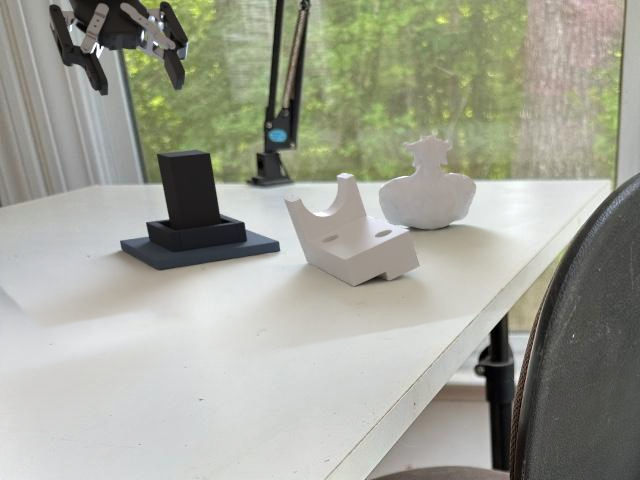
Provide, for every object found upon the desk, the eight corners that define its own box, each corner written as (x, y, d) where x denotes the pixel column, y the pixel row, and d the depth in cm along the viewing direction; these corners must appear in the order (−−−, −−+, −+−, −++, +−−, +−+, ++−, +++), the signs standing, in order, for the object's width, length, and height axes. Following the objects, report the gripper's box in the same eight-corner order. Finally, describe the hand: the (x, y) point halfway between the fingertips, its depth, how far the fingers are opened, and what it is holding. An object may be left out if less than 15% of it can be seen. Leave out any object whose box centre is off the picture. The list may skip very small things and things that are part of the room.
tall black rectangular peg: (173, 240, 103) (156, 153, 98) (210, 235, 105) (196, 149, 100) (186, 246, 100) (169, 157, 95) (224, 240, 102) (210, 152, 97)
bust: (383, 250, 110) (386, 178, 99) (373, 201, 112) (375, 126, 101) (478, 242, 111) (491, 170, 101) (466, 194, 114) (478, 119, 103)
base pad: (121, 249, 105) (115, 222, 103) (234, 233, 111) (230, 206, 109) (158, 270, 95) (152, 240, 93) (280, 250, 101) (276, 222, 99)
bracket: (310, 270, 96) (283, 198, 91) (367, 244, 98) (344, 172, 93) (357, 295, 86) (330, 216, 82) (420, 266, 88) (397, 187, 83)
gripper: (150, -3, 110) (199, 108, 108) (29, 0, 104) (78, 117, 102) (154, -60, 103) (206, 56, 101) (24, -61, 97) (78, 63, 95)
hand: (142, 87), depth 102 cm, fingers open, 8 cm apart
